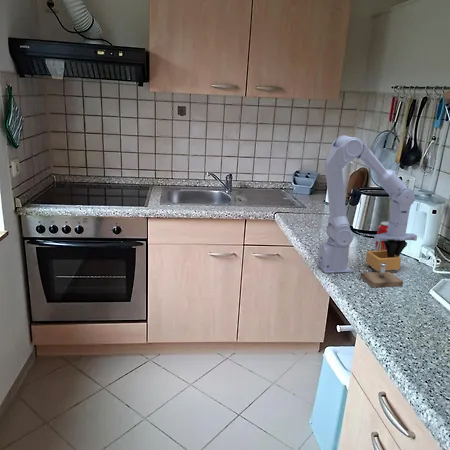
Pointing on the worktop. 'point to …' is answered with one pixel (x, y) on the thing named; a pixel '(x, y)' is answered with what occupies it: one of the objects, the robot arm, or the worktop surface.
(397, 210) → the robot arm
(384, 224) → the soda can
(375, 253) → the orange open box
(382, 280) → the board
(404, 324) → the worktop surface
